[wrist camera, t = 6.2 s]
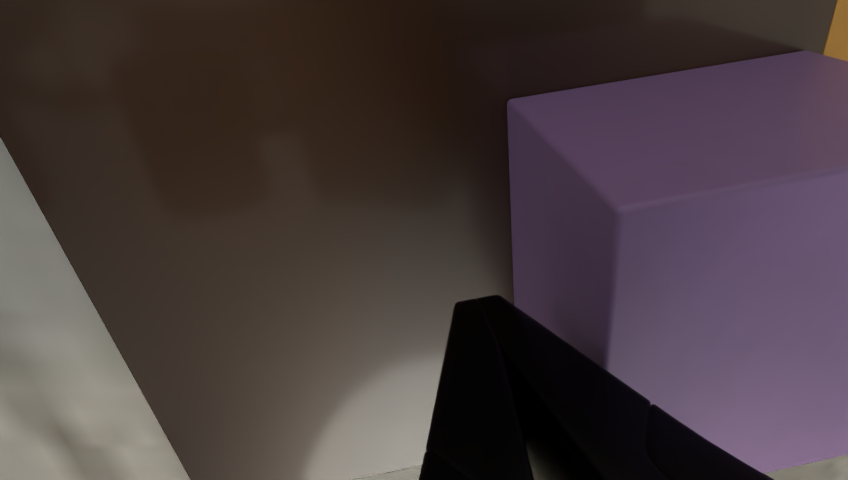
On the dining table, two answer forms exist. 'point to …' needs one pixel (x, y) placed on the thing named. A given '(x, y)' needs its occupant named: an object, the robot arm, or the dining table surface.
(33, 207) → the dining table surface
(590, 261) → the block
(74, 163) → the board
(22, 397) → the dining table surface
